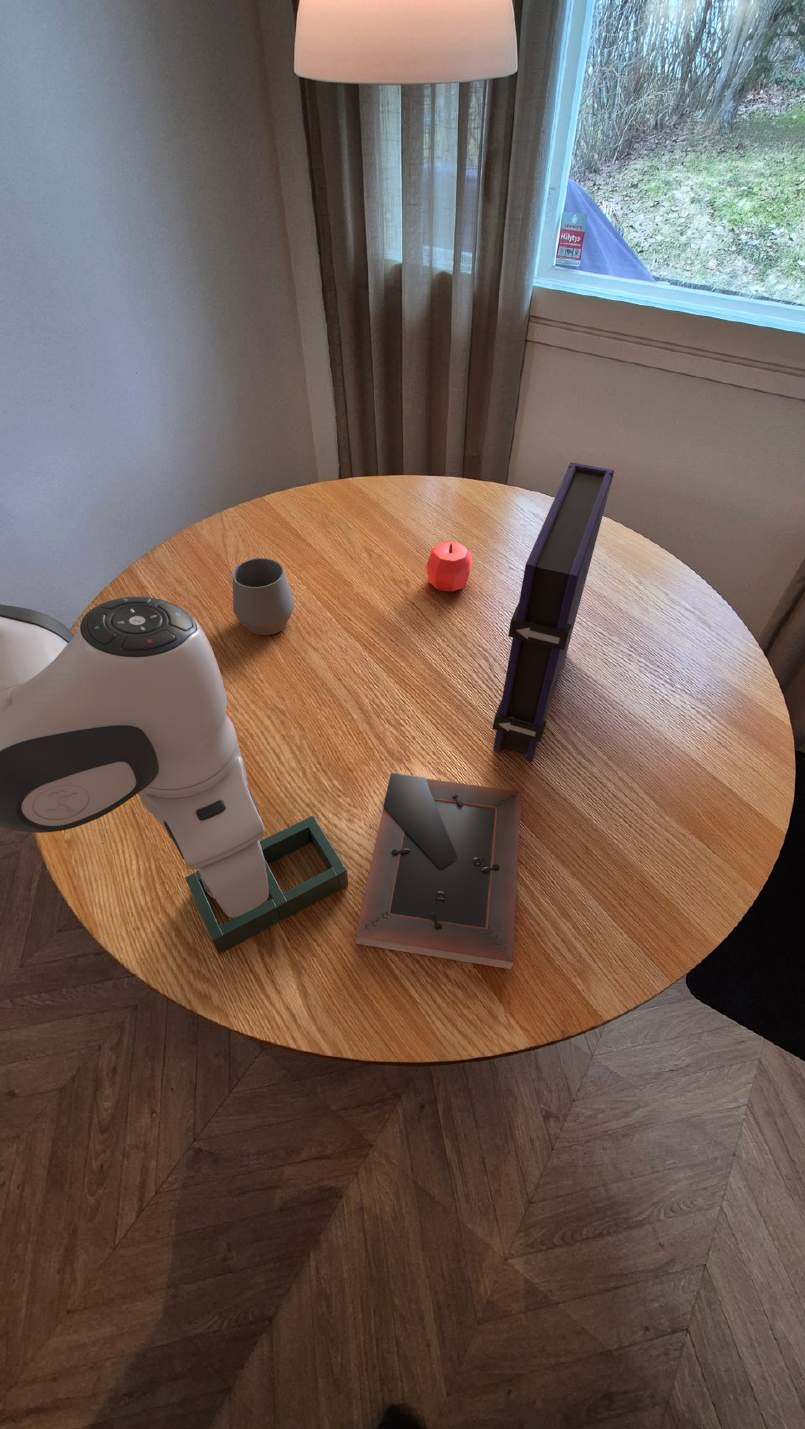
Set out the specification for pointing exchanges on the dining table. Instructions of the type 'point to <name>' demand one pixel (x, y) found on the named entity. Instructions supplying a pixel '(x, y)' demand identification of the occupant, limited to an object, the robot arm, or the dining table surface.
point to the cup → (262, 596)
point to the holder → (276, 886)
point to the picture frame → (444, 872)
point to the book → (549, 606)
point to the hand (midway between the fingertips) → (219, 854)
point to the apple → (449, 566)
